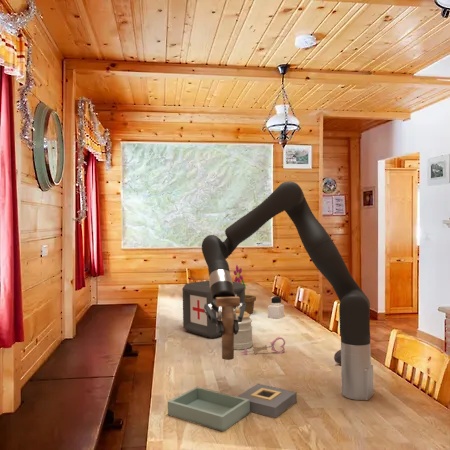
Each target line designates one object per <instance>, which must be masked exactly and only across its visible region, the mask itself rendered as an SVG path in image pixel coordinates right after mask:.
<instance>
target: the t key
mask: <svg viewBox="0 0 450 450" xmlns="http://www.w3.org/2000/svg"><path fill="white" fill-rule="evenodd" d="M216 306H217V307H222V323H223V329H224V334H223V335H222V336H221V359H222V360H226V361H231V360H234V358H235V353H234V352H235V349H234V306H240V298H239V297H216Z"/></svg>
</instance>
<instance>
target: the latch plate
mask: <svg viewBox="0 0 450 450" xmlns="http://www.w3.org/2000/svg"><path fill="white" fill-rule="evenodd" d="M236 396H237V397H241V398H245V399H249V400H250V413H255V414H258V415H262V416H265V417H270V418H273V419H276V418H277V417H279V416H280V415H281V414H283V413H284V412H285V411H286V410H288V409H289V408H290V407H292V406H293V405H294V404H296V403H297V402H298V398H297V392H296V391H295V390H294V391H293V390H290V389H284V388H281V387H276V386H271V385H266V384H261V383H257V384H255V385H253V386H252V387H249V388H248V389H247V390H245V391H244V392H242V393H240V394H238V395H236Z"/></svg>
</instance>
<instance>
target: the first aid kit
mask: <svg viewBox="0 0 450 450" xmlns="http://www.w3.org/2000/svg"><path fill="white" fill-rule="evenodd" d="M232 282H233V288H234V293H235V297H239V298H240V303H243V302H245V295H246V289H245V287H244V285H243V283H242V282H240V283H238V281H237V282H235V281H232ZM211 302H212V298H211V291H210V284H209V280H202V281H196V282H188V283H185V284H184V285H183V287H182V325H183V327H182V328H183V330H185V331H186V332H188V333H191V334H194V333H195V334H194V335H199V336H202V337H205V338H208V339H216V338H219V337H222V335H220V334H219V333H218V328H217V324H216V323H213V324H212V323H211V322H210V320H209V319H208V317H207V315H206V313H205V312H204V305H205V304H211ZM236 308H237V307H236ZM211 311H212V312H213V314H214V316H215V317H216V318H217V314H218V313H217V312H216V311H215V310H214V309H213V308H212V310H211ZM221 321H222V319H221Z"/></svg>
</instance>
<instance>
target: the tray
mask: <svg viewBox="0 0 450 450" xmlns="http://www.w3.org/2000/svg"><path fill="white" fill-rule="evenodd" d="M237 396H238V395H234V394H233V395H232V394H229V393H223V392H220V391H216V390H212V389H208V388H204V387H199V386H196V387H194V388H192V389H189V390H187V391H186V392H184V393H181V394H179V395H178V396H176V397H174V398H172V399H169V400H168V401H167V415H168V416H171V417H174V418H177V419H180V420H184V421H186V422H191V423H192V424H193V423H194V424H196V425H200V426H203V427H206V428H210V429H213V430H216V431H219V432H222V433H224V432H225V431H227V429H229V428H231V427H232V426H233V425H236V423H238V422H239V421H241V420H242V419H243V418H245V417H246V416H248V415H249V414H251V412H250V400H249V399H245V398H241V397H237Z"/></svg>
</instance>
